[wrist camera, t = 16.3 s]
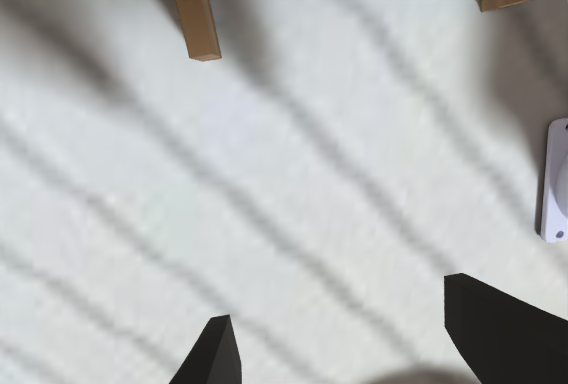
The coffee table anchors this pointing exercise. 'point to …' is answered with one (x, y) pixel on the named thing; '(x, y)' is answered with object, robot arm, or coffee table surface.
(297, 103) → the coffee table surface
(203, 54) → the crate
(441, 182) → the coffee table surface
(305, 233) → the coffee table surface
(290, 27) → the coffee table surface
